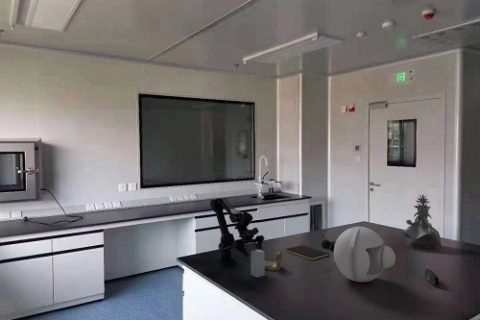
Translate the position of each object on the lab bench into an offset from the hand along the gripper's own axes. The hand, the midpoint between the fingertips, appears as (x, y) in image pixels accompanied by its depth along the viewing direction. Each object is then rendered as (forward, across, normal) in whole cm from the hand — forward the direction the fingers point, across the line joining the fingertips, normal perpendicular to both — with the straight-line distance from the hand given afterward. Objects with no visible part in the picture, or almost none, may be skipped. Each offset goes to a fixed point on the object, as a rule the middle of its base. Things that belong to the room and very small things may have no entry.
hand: (255, 255), depth 195 cm
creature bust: (+23, +124, -8) cm, 127 cm away
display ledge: (+5, +13, +10) cm, 17 cm away
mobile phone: (+51, +67, -35) cm, 91 cm away
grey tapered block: (+9, 0, +6) cm, 11 cm away
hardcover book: (0, +48, +15) cm, 51 cm away
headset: (+2, +72, +14) cm, 73 cm away
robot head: (+36, +40, -21) cm, 58 cm away
